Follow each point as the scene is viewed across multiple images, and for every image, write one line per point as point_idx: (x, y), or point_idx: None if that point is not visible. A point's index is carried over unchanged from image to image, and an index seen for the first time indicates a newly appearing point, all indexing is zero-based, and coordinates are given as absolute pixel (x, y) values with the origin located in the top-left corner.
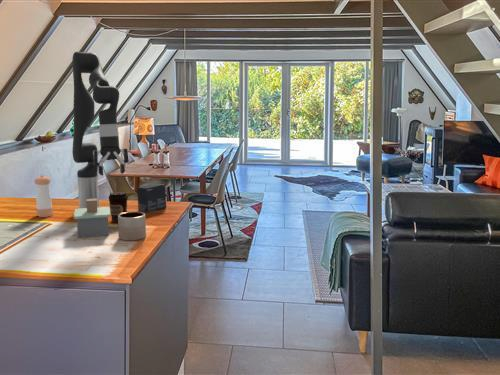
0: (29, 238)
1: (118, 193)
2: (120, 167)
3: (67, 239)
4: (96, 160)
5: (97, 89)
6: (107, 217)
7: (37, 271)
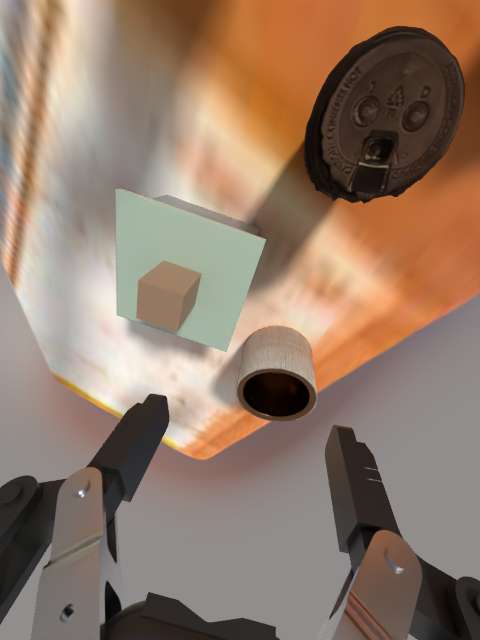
0: (34, 212)
1: (393, 120)
2: (345, 487)
3: None
4: (10, 586)
5: None
6: None
7: (98, 399)
